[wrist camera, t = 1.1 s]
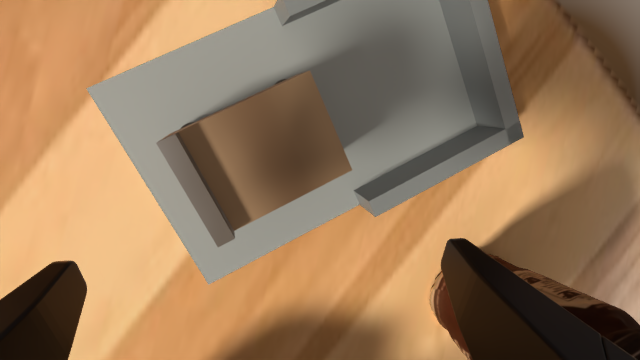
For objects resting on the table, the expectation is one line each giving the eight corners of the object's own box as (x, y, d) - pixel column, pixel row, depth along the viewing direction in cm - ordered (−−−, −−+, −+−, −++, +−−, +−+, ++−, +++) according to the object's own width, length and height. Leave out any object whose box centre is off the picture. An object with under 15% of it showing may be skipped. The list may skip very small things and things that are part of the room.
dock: (208, 282, 22) (206, 307, 19) (88, 88, 18) (65, 86, 15) (491, 132, 24) (523, 137, 22) (434, -62, 21) (464, -86, 18)
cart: (220, 214, 21) (219, 249, 16) (171, 130, 19) (154, 140, 14) (330, 159, 22) (360, 176, 17) (292, 73, 20) (314, 66, 15)
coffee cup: (463, 211, 25) (696, 321, 13) (540, 263, 28) (794, 395, 15) (393, 318, 25) (553, 525, 13) (475, 359, 28) (673, 563, 16)
